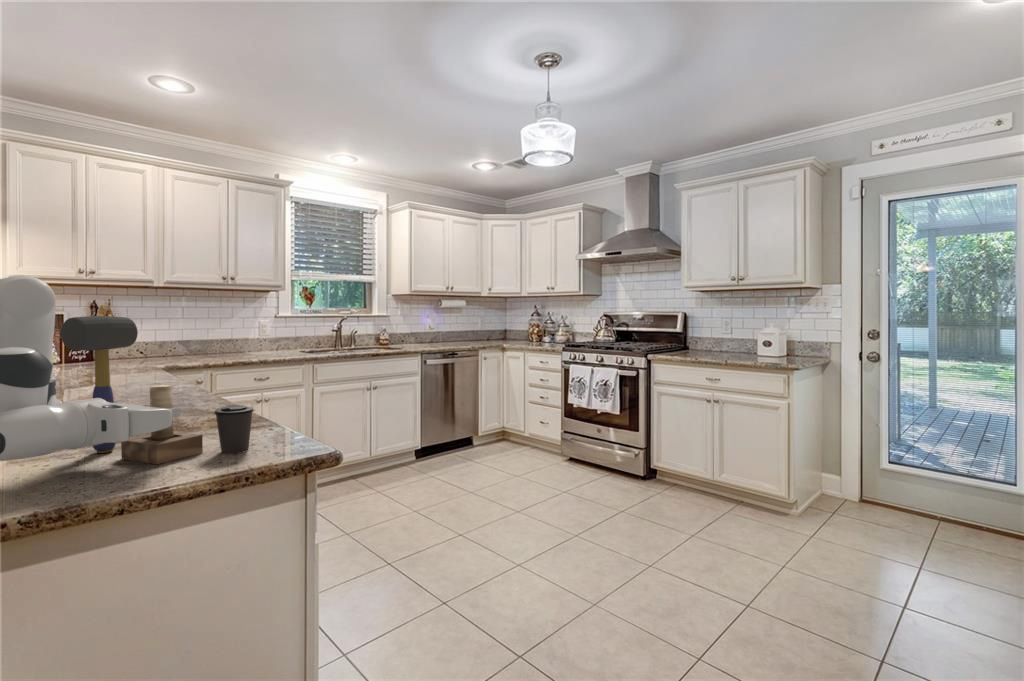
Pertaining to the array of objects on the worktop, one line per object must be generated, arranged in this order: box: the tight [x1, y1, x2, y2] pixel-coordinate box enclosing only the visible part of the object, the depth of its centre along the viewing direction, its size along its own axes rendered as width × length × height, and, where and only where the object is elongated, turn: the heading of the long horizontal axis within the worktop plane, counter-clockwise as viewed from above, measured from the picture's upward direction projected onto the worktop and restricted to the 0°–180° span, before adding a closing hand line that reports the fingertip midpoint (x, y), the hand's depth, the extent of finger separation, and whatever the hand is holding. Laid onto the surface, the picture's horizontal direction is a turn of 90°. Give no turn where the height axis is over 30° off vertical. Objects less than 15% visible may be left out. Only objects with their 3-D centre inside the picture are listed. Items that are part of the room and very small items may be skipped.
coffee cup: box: [213, 404, 255, 454], centre depth 116 cm, size 8×8×10 cm
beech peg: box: [149, 384, 174, 441], centre depth 111 cm, size 4×4×15 cm
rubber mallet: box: [60, 315, 139, 454], centre depth 114 cm, size 12×8×30 cm, turn 167°
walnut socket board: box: [120, 430, 204, 465], centre depth 112 cm, size 11×10×4 cm
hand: (162, 409), depth 111 cm, fingers open, 8 cm apart
